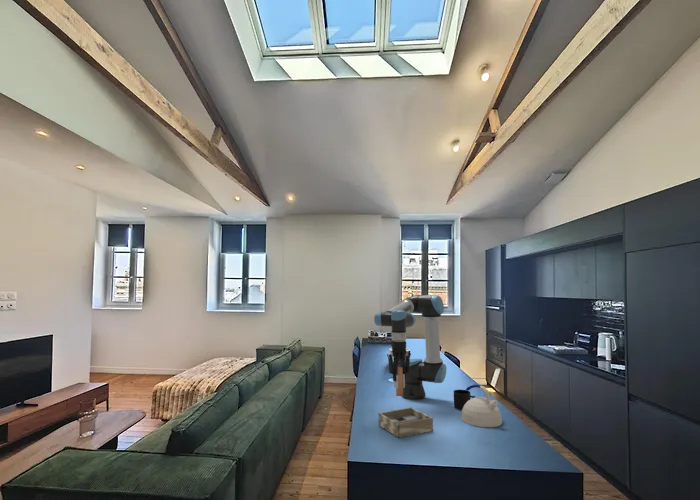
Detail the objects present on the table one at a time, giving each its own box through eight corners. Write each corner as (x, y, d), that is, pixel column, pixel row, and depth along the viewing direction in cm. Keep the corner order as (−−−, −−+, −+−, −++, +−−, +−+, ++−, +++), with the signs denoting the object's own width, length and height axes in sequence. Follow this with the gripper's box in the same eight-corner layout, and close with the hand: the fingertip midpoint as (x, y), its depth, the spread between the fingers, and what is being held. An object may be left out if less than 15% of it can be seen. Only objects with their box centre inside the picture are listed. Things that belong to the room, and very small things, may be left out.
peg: (394, 394, 195) (394, 366, 196) (400, 394, 196) (400, 366, 198) (398, 396, 192) (398, 368, 193) (404, 395, 193) (403, 367, 195)
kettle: (482, 430, 185) (481, 392, 187) (453, 417, 204) (452, 383, 206) (511, 423, 195) (510, 387, 197) (480, 412, 213) (479, 379, 215)
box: (378, 425, 192) (378, 413, 193) (411, 419, 201) (411, 407, 202) (398, 438, 176) (398, 424, 177) (432, 430, 185) (432, 417, 186)
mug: (476, 411, 215) (476, 394, 215) (454, 409, 217) (454, 393, 218) (474, 405, 224) (473, 390, 225) (453, 404, 226) (452, 389, 227)
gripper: (389, 342, 190) (389, 390, 187) (416, 340, 197) (416, 387, 195) (381, 340, 197) (381, 387, 194) (407, 338, 204) (408, 384, 201)
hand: (399, 387), depth 194 cm, fingers closed on peg, 3 cm apart
